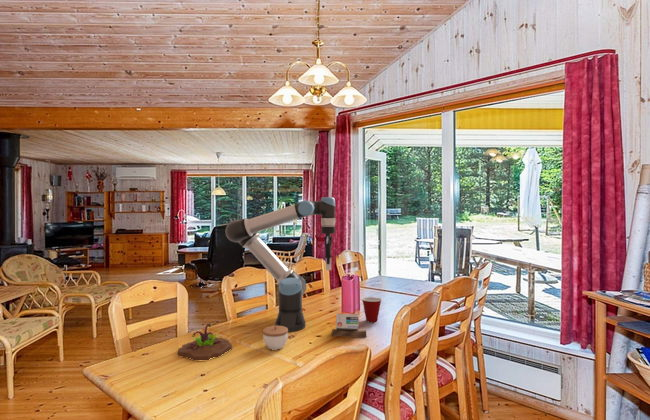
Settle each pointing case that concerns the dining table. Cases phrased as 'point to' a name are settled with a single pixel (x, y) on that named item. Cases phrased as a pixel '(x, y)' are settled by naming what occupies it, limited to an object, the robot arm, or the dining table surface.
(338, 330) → the walnut stop rail
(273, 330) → the lidded jar
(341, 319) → the light bulb box
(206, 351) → the plant
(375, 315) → the plastic cup
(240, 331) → the dining table surface
